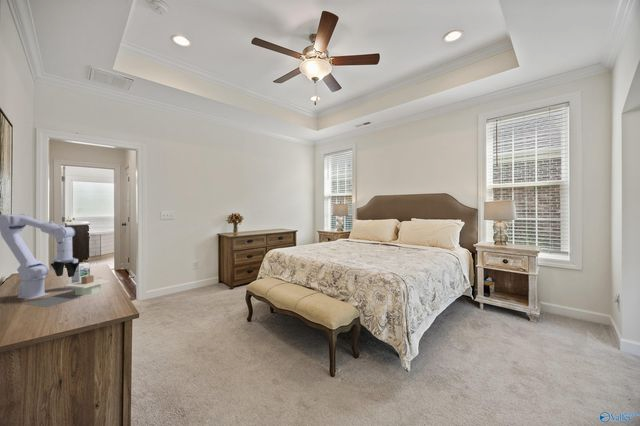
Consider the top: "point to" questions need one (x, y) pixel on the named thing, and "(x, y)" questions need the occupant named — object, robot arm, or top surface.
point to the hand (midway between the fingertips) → (65, 276)
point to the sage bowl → (88, 290)
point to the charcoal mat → (51, 300)
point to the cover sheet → (78, 284)
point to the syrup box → (81, 272)
